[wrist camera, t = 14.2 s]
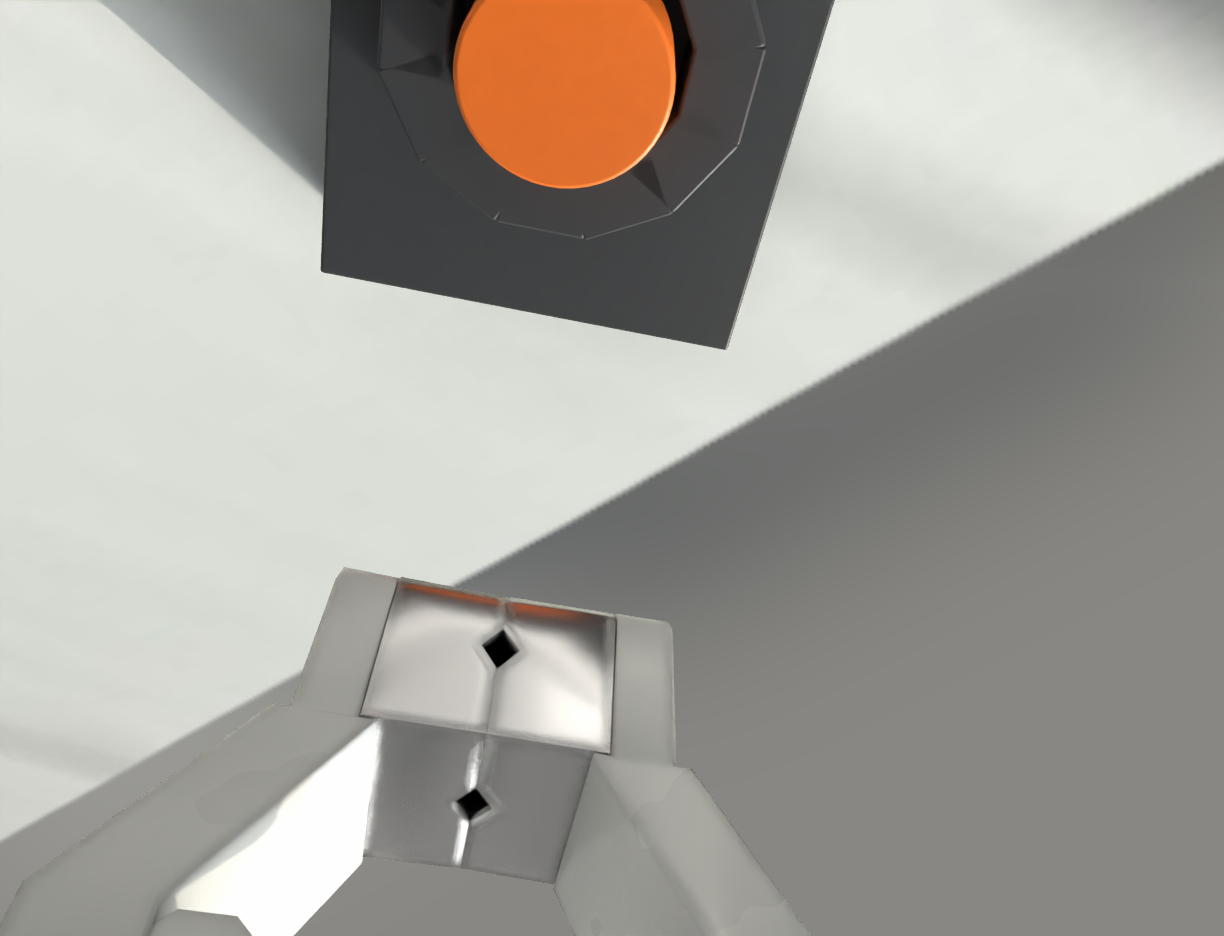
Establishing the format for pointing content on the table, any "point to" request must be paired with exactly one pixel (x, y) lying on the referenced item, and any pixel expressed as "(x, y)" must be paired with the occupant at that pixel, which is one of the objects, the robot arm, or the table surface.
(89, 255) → the table surface
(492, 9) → the orange push button
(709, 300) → the push button base
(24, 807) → the table surface
